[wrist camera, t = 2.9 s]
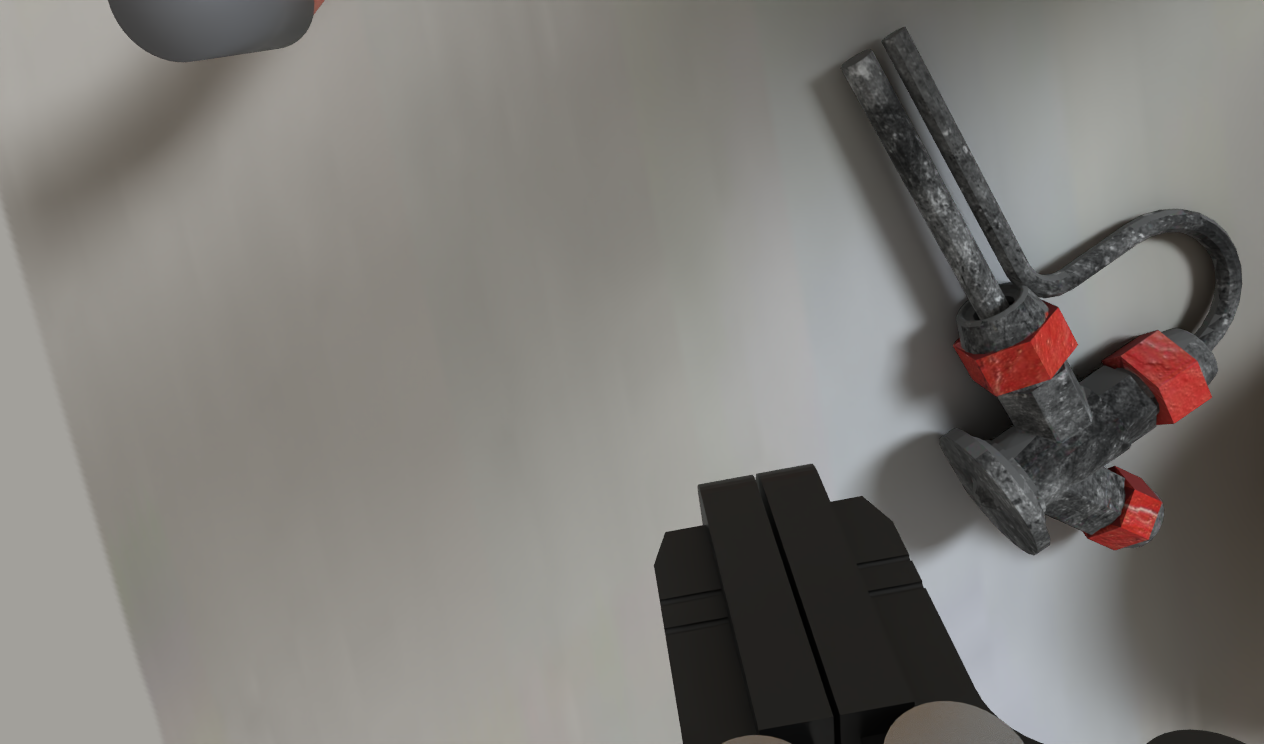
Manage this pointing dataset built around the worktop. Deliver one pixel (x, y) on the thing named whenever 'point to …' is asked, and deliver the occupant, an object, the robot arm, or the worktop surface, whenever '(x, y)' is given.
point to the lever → (212, 25)
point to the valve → (1045, 339)
